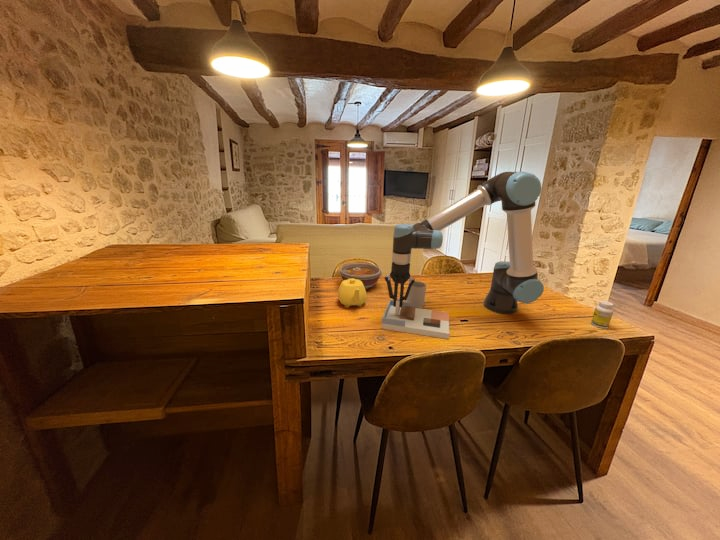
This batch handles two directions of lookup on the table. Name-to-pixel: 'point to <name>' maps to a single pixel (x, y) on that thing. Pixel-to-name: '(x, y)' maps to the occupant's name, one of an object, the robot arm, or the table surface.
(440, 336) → the deck
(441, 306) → the table surface
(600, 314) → the pill bottle
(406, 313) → the walnut block
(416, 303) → the mug
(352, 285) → the teapot
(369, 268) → the bowl
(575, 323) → the table surface
